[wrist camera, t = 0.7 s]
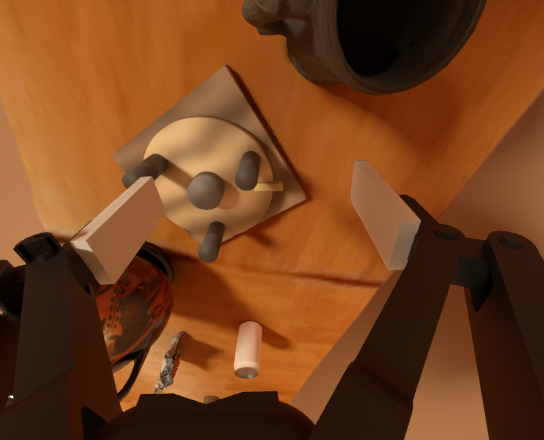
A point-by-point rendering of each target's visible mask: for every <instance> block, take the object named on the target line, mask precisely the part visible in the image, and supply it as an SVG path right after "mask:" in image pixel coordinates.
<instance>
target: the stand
mask: <svg viewBox="0 0 544 440" xmlns="http://www.w3.org/2000/svg"><path fill="white" fill-rule="evenodd" d="M197 115H207V116H214V117H219V118H222V119H225V120H228V121H230V122H233V123H235V124H237V125H238V126H240V127H241V128H243V129H245V130H246V131H247V132H248V133H249V134H251V135H252V136H253V137H254V138H255V139H256V140H257V141H258V143H259V144H260V145H261V147H262V148H263V150H264V151H265V153H266V155H267V157H268V159H269V162H270V164H271V168H272V173H273V181H283V191H273V194H272V199H271V202H270V205H269V207H268V209H267V211H266V213H265V214H264V216H263V217H262V218H261V219H260V220H259V221H258V223H256V224H255V225H257V224H259V223H261V222H263V221H265V220H267V219H268V218H270V217H272V216H274V215H276V214H278V213H280V212H282V211H284V210H286V209H288V208H290V207H292V206H294V205H296V204H298V203H300V202H302V201H304V200H305V199H307V198H306V194H305V192H304V190H303V189H302V187H301V185H300V184H299V182H298V181H297V179H296V177H295V176H294V174H293V172H292V171H291V169H290V167H289V166H288V164H287V162H286V161H285V159H284V157H283V156H282V154H281V153H280V151H279V149H278V148H277V146H276V144H275V143H274V141H273V139H272V138H271V136H270V134H269V133H268V131H267V129H266V128H265V126H264V125H263V123H262V121H261V120H260V118H259V116H258V115H257V113H256V111H255V110H254V108H253V106H252V105H251V103H250V101H249V100H248V98H247V97H246V95H245V93H244V92H243V90H242V88H241V87H240V85H239V83H238V82H237V80H236V78H235V77H234V75H233V73H232V72H231V70H230V69H229V67H228V65H224V66H223V67H222V68H221V69H219V70H218V71H217V72H216V73H214V74H213V75H212V76H211V77H209V78H208V79H207V80H206V81H204V82H203V83H202V84H201V85H199V86H198V87H197V88H196V89H194V90H193V91H192V92H191V93H189V94H188V95H187V96H186V97H184V98H183V99H182V100H181V101H179V102H178V103H177V104H176V105H174V106H173V107H172V108H171V109H169V110H168V111H167V112H166V113H164V114H163V115H162V116H161V117H159V118H158V119H157V120H156V121H154V122H153V123H152V124H151V125H149V126H148V127H147V128H146V129H144V130H143V131H142V132H141V133H139V134H138V135H137V136H136V137H134V138H133V139H132V140H131V141H129V142H128V143H127V144H126V145H124V146H123V147H122V148H121V149H119V150H118V151H117V152H116V153H114V154H113V155H112V156H111V158H112V159H113V160H114V161H115V162H116V163H117V164H118V165H119V166H120V167H121V168H123V169H124V170H125V171H126V172H129V171H130V170H131V169H133V168H134V167H135V166H137V165H138V164H139V163H141V162H142V161H143V160H144V155H145V152H146V149H147V147H148V145H149V143H150V142H151V140H152V139H153V138H154V136H155V135H156V134H157V133H158V132H160V131H161V130H162V129H163V128H165V127H166V126H168V125H170V124H171V123H173V122H175V121H177V120H179V119H182V118H185V117H189V116H197ZM255 225H254V226H255ZM183 229H184V228H183ZM184 230H185V231H187V232H188V233H189V234H190V235H191V236H192V237H193V238H194V239H195V240H196V241H197V242H198V243H199V244H200V245H202V243H203V240H204V238H205V236H204V235H200V234H196V233H193V232H190V231H188V230H186V229H184ZM241 233H243V232H241ZM235 235H237V234H235ZM235 235H231V236H225V237H223V239H222V242H224V241H226V240H228V239H230V238H231V237H233V236H235ZM222 242H221V243H222Z"/></svg>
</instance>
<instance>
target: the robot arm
mask: <svg viewBox="0 0 544 440" xmlns="http://www.w3.org/2000/svg"><path fill="white" fill-rule="evenodd" d="M350 200H351V202H352V204H353V206H354V208H355V210H356V212H357V213H358V215H359V217H360V219H361V221H362V223H363V225H364V227H365V229H366V230H367V232H368V234H369V236H370V238H371V240H372V242H373V244H374V246H375V248H376V249H377V251H378V253H379V255H380V257H381V259H382V261H383V263H384V265H385V266H386V268H387V270H403V272H402V274H401V276H400V278H399V279H398V281H397V283H396V285H395V287H394V289H393V291H392V292H391V294H390V296H389V298H388V300H387V302H386V304H385V305H384V308H383V309H382V311H381V313H380V315H379V316H378V318H377V320H376V322H375V324H374V326H373V328H372V330H371V331H370V333H369V335H368V337H367V339H366V340H365V342H364V344H363V346H362V348H361V350H360V352H359V354H358V355H357V357H356V359H355V360H354V362H351V363H350V365H349V366H348V368H347V369H346V371H345V373H344V374H343V376H342V378H341V380H340V382H339V383H338V385H337V387H336V389H335V391H334V393H333V394H332V396H331V398H330V400H329V401H328V403H327V405H326V407H325V409H324V411H323V413H322V414H321V416H320V418H319V420H318V421H317V423H316V425H315V424H314V423H313V422H312V421H311V420H310V419H309V418H308V417H307V416H306V415H305V414H304V413H302V412H301V411H299V410H298V409H296V408H295V407H293V406H291V405H289V404H287V403H284V402H281V401H279V398H278V393H277V391H262V392H241V393H238V394H235V395H232V396H229V397H226V398H223V399H220V400H217V401H214V402H211V403H206V404H205V403H201V402H198V401H195V400H191V399H188V398H185V397H182V396H179V395H176V394H173V393H171V394H141V395H140V397H139V400H138V402H137V405H136V406H135V407H133V408H131V409H129V410H126V411H125V412H123V411H122V409H121V406H120V403H119V399H118V395H117V390H116V386H115V381H114V377H113V373H112V368H111V364H110V360H109V355H108V351H107V347H106V342H105V338H104V334H103V329H102V325H101V320H100V316H99V312H98V307H97V303H96V299H95V294H94V290H93V287H92V286H91V284H90V283H89V282H90V280H91V279H92V278H93V277H95V278H96V280H97V281H98V282H99V284H100V285H103V284H115V283H116V282H117V280H118V279H119V278H120V276H121V275H122V273H123V272H124V270H125V269H126V268H127V266H128V265H129V263H130V262H131V261H132V259H133V258H134V256H135V255H136V253H137V252H138V251H139V249H140V248H141V246H142V245H143V244H144V242H145V241H146V239H147V238H148V236H149V235H150V234H151V232H152V231H153V229H154V228H155V227H156V225H157V224H158V222H159V221H160V220H161V218H162V217H163V215H164V214H165V212H166V210H165V208H164V205H163V203H162V200H161V198H160V195H159V192H158V190H157V187H156V185H155V182H154V180H153V177H152V176H150V177H140V178H139V179H138V180H137V181H136V182H135V183H134V184H133V185H131V186H130V187H129V188H128V189H127V190H126V191H125V192H124V193H123V194H121V195H120V196H119V197H118V198H117V199H116V200H115V201H114V202H112V203H111V204H110V205H109V206H108V207H107V208H106V209H105V210H103V211H102V212H101V213H100V214H99V215H98V216H97V217H96V218H95V219H93V220H91V221H90V222H89V223H88V224H87V225H85V226H84V228H82V229H81V230H80V231H79V233H76V234H75V235H74V236H73V237H72V238H71V239H70V240H68V241H67V242H66V243H65V244H64V245H63V246H62V247H61V245H60V244H59V243H58V241H57V240H56V239H55V237H54V236H53V235H52V234H51V233H48V232H45V233H40V234H36V235H33V236H31V237H28V238H26V239H24V240H22V241H21V242H19V243H18V244H17V245H16V246H15V247H14V248H13V250H14V251H15V252H16V253H17V254H18V255H19V256H20V257H21V258H22V259H23V260H24V261H25V263H26V265H22V266H18V267H13V266H12V265H11V264H10V263H9V262H8V261H7V260H0V310H1V311H2V312H3V313H2V315H1V314H0V440H404V438H405V434H406V431H407V428H408V425H409V421H410V418H411V414H412V410H413V398H414V395H415V392H416V388H417V386H418V383H419V380H420V377H421V373H422V370H423V367H424V364H425V361H426V358H427V355H428V352H429V349H430V346H431V342H432V340H433V336H434V333H435V330H436V327H437V324H438V321H439V318H440V315H441V312H442V309H443V306H444V302H445V299H446V296H447V293H448V290H449V287H450V284H453V285H458V286H463V287H464V291H465V297H466V303H467V309H468V315H469V321H470V327H471V333H472V339H473V345H474V351H475V357H476V363H477V369H478V375H479V381H480V387H481V393H482V399H483V405H484V411H485V417H486V423H487V429H488V435H489V440H544V261H543V259H542V257H541V255H540V254H539V252H538V250H537V248H536V246H535V245H534V244H533V243H532V242H531V241H530V240H528V239H527V238H525V237H523V236H521V235H518V234H516V233H511V232H506V231H494V232H492V233H490V234H489V235H488V237H487V239H486V240H480V239H472V238H465V235H464V234H463V233H462V232H461V231H459V230H458V229H456V228H454V227H451V226H449V225H444V224H439V223H438V222H437V221H436V220H435V219H434V218H433V217H432V216H431V215H430V214H429V213H428V212H427V211H426V210H425V209H424V208H423V207H422V206H420V204H419V203H418V202H417V201H416V200H415V199H413V198H411V197H409V196H408V195H398V194H397V193H396V192H395V191H394V190H393V189H392V188H391V186H390V185H389V184H388V183H387V182H386V181H385V180H384V179H383V178H382V176H381V175H380V174H379V173H378V172H377V171H376V170H375V169H374V167H373V166H372V165H371V164H370V163H369V162H368V161H367V160H364V161H355V162H354V171H353V179H352V188H351V196H350ZM407 261H408V263H407ZM406 264H407V265H406ZM13 386H14V390H13V399H12V405H11V406H10V407H9V408H7V409H5V406H6V404H7V401H8V398H9V396H10V393H11V391H12V388H13ZM4 409H5V410H4Z"/></svg>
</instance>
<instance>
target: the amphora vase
mask: <svg viewBox="0 0 544 440" xmlns="http://www.w3.org/2000/svg"><path fill="white" fill-rule="evenodd" d="M173 278H174V269H173V267H172V265H171V263H170V261H169V260H168V259H167V257H166V256H165V255H164V254H163V253H162V252H160V251H159V250H158V249H156V248H154V247H152V246H150V245H149V244H146V243H144V244H143V245H142V246H141V248H140V249H139V251H138V252H137V253H136V255H135V256H134V258H133V259H132V261H131V262H130V263H129V265H128V266H127V268H126V269H125V270H124V272H123V273H122V275H121V276H120V278H119V279H118V280H117V282H116V283H115V284H103V285H100V284H99V282H98V281H97V280H96V278H95V277H93V278H92V279H91V280H90V282H89V283H90V284H91V286H92V287H93V290H94V294H95V299H96V303H97V307H98V312H99V316H100V320H101V325H102V329H103V334H104V338H105V342H106V347H107V351H108V355H109V360H110V364H111V368H112V373H115V372H117V371H119V370H120V369H122V368H123V367H125V366H126V365H128V364H129V363H130V362H132V361H133V360H134V367H133V369H132V372H131V374H130V377H129V379H128V381H127V382H126V384H125V385H124V387H123V389H122V390H121V391H120V392H119V393H118V394H117V395H118V399H119V403H120V402H121V401H122V400H123V399H124V398H125V397H126V396H127V395H128V393H129V391H130V390H131V388H132V386H133V384H134V382H135V381H136V379H137V376H138V374H139V372H140V370H141V368H142V365H143V363H144V361H145V359H146V357H147V354H148V352H149V350H150V347H151V346H152V345H153V343H154V342H155V341H156V340H157V339H158V338H159V336H160V335H161V333H162V332H163V330H164V329H165V327H166V325H167V323H168V321H169V318H170V315H171V312H172V309H173V306H174V298H173V290H172V287H171V284H172V282H173ZM13 390H14V386H13V388H12V391H11V393H10V396H9V398H8V401H7V404H6V406H5V409H7V408H9V407H10V406H11V405H12V399H13ZM5 409H4V410H5Z"/></svg>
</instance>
